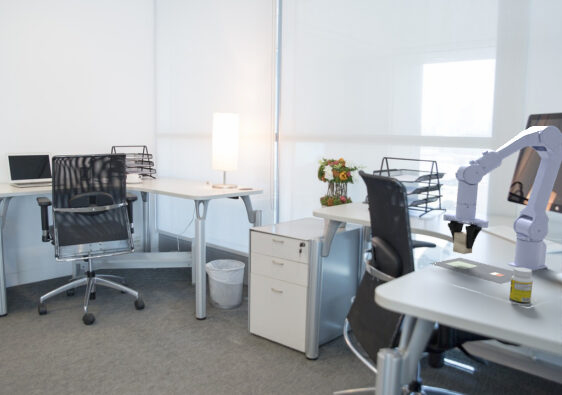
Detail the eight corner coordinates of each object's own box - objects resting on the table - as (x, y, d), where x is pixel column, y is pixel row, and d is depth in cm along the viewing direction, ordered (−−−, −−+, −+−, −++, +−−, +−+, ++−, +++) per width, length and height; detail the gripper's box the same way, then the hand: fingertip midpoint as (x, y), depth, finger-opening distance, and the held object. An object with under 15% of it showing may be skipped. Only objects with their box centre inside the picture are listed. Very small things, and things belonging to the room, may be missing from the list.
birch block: (460, 250, 156) (462, 231, 155) (471, 252, 152) (473, 233, 152) (452, 251, 153) (454, 232, 153) (464, 254, 150) (465, 234, 149)
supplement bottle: (512, 298, 123) (515, 265, 122) (532, 302, 120) (536, 269, 119) (506, 302, 119) (509, 269, 118) (527, 307, 116) (531, 273, 115)
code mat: (460, 258, 163) (460, 257, 163) (531, 276, 143) (531, 275, 143) (429, 264, 154) (429, 263, 154) (500, 284, 134) (500, 283, 134)
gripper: (438, 201, 155) (435, 243, 156) (480, 207, 143) (476, 253, 145) (452, 200, 159) (449, 241, 160) (493, 206, 147) (489, 250, 149)
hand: (462, 246), depth 153 cm, fingers closed on birch block, 4 cm apart
